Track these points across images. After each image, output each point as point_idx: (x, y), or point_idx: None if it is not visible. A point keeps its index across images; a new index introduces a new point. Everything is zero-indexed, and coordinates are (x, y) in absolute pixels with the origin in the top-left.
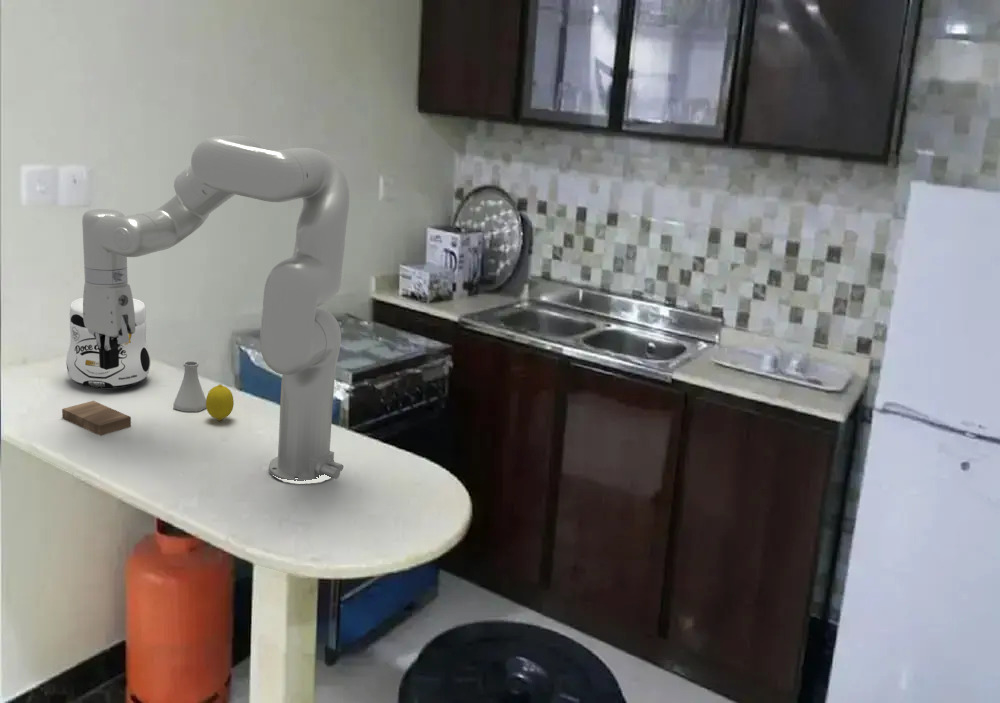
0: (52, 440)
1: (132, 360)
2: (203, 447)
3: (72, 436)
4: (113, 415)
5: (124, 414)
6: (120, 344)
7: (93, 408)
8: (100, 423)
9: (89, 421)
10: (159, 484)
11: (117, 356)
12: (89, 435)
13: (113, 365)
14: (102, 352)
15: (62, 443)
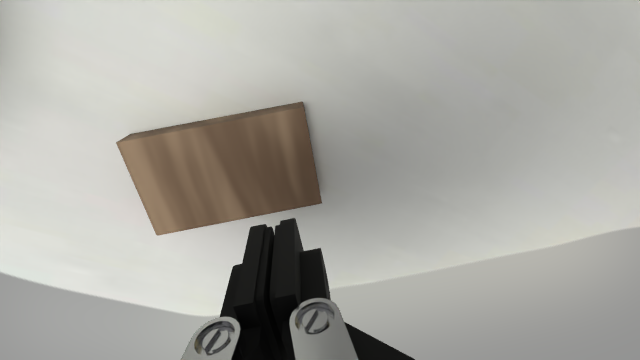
0: None
1: None
2: (549, 2)
3: None
4: (269, 144)
5: (276, 114)
6: (382, 344)
7: (187, 168)
8: (307, 195)
9: (278, 211)
10: (609, 193)
11: (322, 271)
12: (305, 209)
13: (324, 264)
14: (286, 357)
15: None
